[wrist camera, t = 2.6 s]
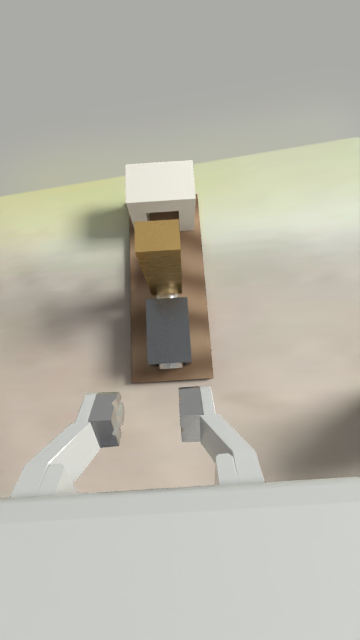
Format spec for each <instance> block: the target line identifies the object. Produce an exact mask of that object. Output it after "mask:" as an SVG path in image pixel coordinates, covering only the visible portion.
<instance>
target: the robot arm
mask: <svg viewBox="0 0 360 640" xmlns="http://www.w3.org/2000/svg"><path fill="white" fill-rule="evenodd" d="M120 401H121V395H120V392H102V393H87V394H86V396H85V397H84V400H83V403H82V405H81V408H80V411H79V413H78V416H77V419H76V421H75V423H71V424H70V425H69V426H68V427H67V428H66V429H65V430H64V431H63V432H61V433H60V434H59V435H58V436H57V437H56V438H55V439H54V440H53V441H52V442H50V443H49V444H48V445H47V446H46V447H45V448H44V449H43V450H42V451H41V452H39V453H38V454H37V455H36V456H35V457H34V458H33V459H32V460H31V461H30V462H28V463H27V464H26V465H25V467H24V469H23V471H22V474H21V476H20V478H19V480H18V482H17V484H16V486H15V488H14V490H13V492H12V494H11V496H10V498H0V640H360V476H355V477H339V478H323V479H307V480H291V481H274V482H265V481H264V478H263V474H262V471H261V468H260V464H259V461H258V457H257V454H256V451H255V450H254V449H253V448H252V447H251V446H250V445H249V444H248V443H247V442H246V441H245V440H244V439H243V438H242V437H241V436H240V435H239V434H238V433H237V432H236V431H235V430H234V429H233V428H232V427H231V426H230V425H229V424H228V423H227V422H226V421H225V420H224V419H223V418H222V416H221V415H220V414H216V412H215V407H214V401H213V396H212V390H211V387H210V386H200V387H199V386H196V387H183V388H179V410H180V426H181V436H182V442H199V441H201V444H202V445H203V446H204V448H205V449H206V451H207V452H208V454H209V455H210V456H211V458H212V459H213V461H214V462H215V463H216V467H215V485H210V486H194V487H178V488H161V489H145V490H129V491H114V492H98V493H82V494H79V493H78V492H77V490H76V488H75V486H74V483H75V481H76V480H77V479H78V478H79V476H80V475H81V474H82V472H83V471H84V470H85V468H86V467H87V466H88V464H89V463H90V462H91V461H92V459H93V458H94V457H95V455H96V454H97V453H98V451H99V450H100V448H103V447H114V446H119V443H120V438H121V433H122V432H121V429H120V427H121V426H122V425H123V422H124V406H123V403H121V402H120Z"/></svg>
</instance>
